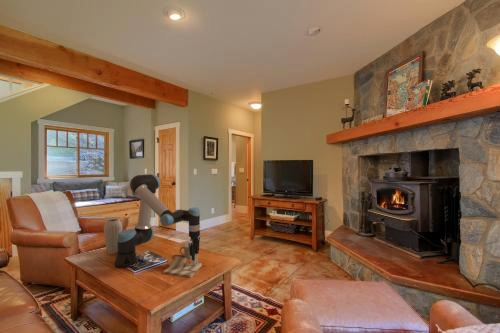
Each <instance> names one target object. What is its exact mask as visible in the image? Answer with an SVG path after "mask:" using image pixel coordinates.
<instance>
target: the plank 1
mask: <svg viewBox="0 0 500 333" xmlns="http://www.w3.org/2000/svg"><path fill="white" fill-rule="evenodd" d="M187 260H188V259H187V258H185V256H184V257H183V256H174V257H173V258H172V261H171V262H170V265H169V266H168V268H173V269H180V270H183V268H184V267H185V266H186V263H187Z"/></svg>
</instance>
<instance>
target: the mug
mask: <svg viewBox="0 0 500 333" xmlns="http://www.w3.org/2000/svg"><path fill="white" fill-rule="evenodd" d="M182 249H183V252H184V253H183V252H182ZM179 254H180V255H182V256H184V258H187V260H192V256H190V251H189V245H188V243H186V244H184V245H183V246H180V248H179Z"/></svg>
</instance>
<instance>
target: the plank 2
mask: <svg viewBox="0 0 500 333" xmlns="http://www.w3.org/2000/svg"><path fill="white" fill-rule="evenodd" d="M202 265H203V263H201V262H197V263H196V265H192V261H188V263H187V264H185V265H184V267H183V269H182V270H187V271H193V272H195V274H196V273H198V271H199V270H200V269H201V267H202Z"/></svg>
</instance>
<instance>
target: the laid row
mask: <svg viewBox="0 0 500 333" xmlns="http://www.w3.org/2000/svg"><path fill="white" fill-rule="evenodd" d="M162 273H163V275H169V276H176V277H181V278H182V277H183V278H189V279H191V278H192V277H193V276H194V275H195V274H196V273H195V272H193V271H187V270H183V269H182V270H180V269H173V268H169V267H167V268H166V269H164V270H163V272H162Z"/></svg>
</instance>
